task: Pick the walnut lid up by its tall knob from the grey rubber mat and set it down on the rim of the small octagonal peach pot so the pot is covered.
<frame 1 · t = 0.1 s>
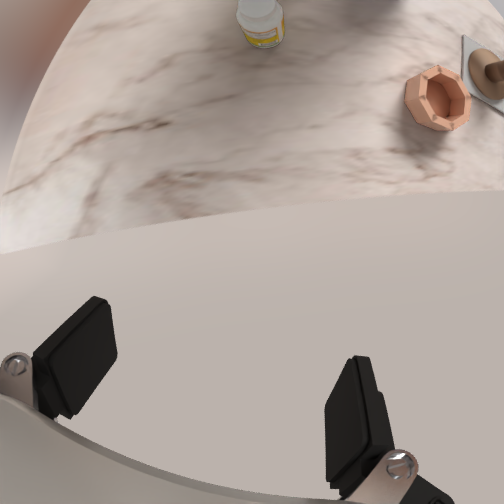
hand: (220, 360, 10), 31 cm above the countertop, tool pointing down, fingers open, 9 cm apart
supplement bottle: (265, 32, 31), on the countertop
octagonal peach pot: (430, 100, 31), on the countertop
lid: (488, 74, 26), point 1 cm above the countertop, touching mat
mat: (486, 74, 26), on the countertop
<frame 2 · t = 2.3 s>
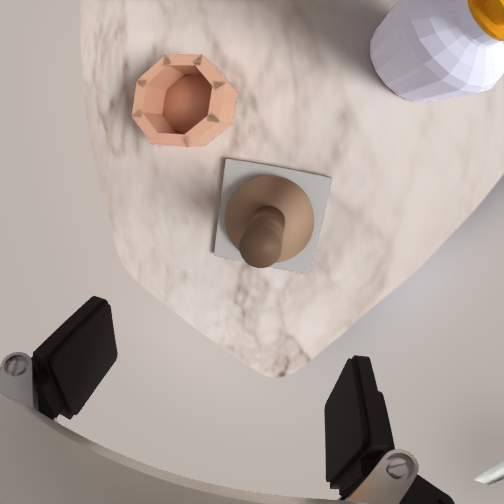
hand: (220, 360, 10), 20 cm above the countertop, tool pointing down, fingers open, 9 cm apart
octagonal peach pot: (195, 104, 25), on the countertop
lid: (269, 218, 28), point 1 cm above the countertop, touching mat
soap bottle: (410, 61, 21), on the countertop
mat: (270, 217, 29), on the countertop
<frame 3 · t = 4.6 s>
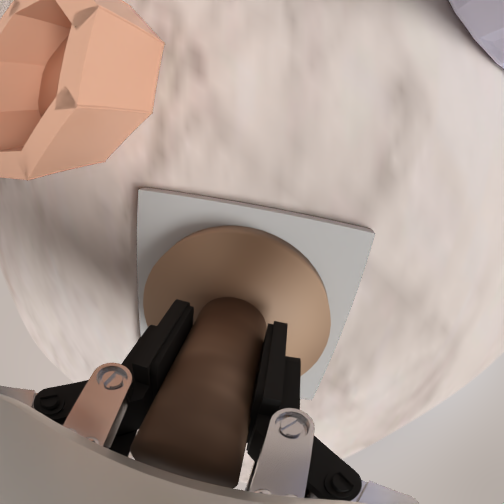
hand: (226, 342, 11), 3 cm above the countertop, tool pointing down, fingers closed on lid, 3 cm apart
octagonal peach pot: (88, 82, 11), on the countertop
lid: (236, 314, 13), point 1 cm above the countertop, touching gripper, mat
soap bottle: (501, 11, 6), on the countertop
mat: (238, 307, 14), on the countertop
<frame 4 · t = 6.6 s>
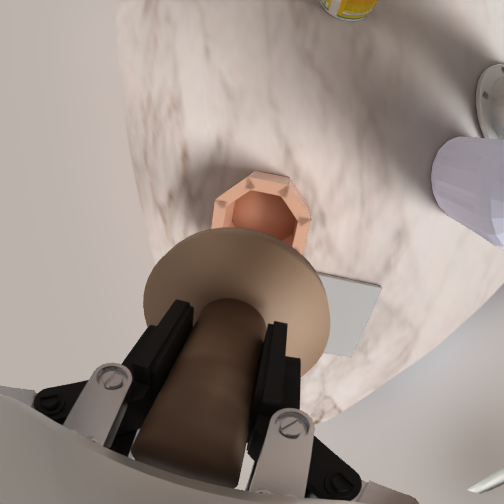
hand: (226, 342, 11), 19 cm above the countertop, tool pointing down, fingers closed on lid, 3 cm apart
supplement bottle: (345, 2, 20), on the countertop
octagonal peach pot: (264, 213, 29), on the countertop
lid: (236, 315, 13), point 17 cm above the countertop, touching gripper
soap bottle: (462, 178, 24), on the countertop
mat: (325, 315, 32), on the countertop
when the fingers open (8 cm above the countertop, at t = 8.9 s): lid drops 1 cm, resting on octagonal peach pot.
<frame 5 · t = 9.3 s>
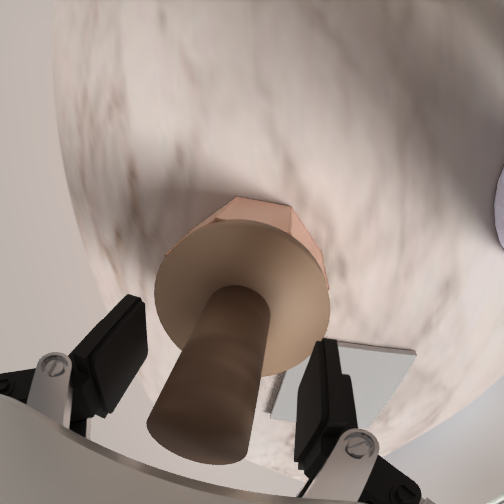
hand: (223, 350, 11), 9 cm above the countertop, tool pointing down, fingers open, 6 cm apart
octagonal peach pot: (253, 262, 19), on the countertop
lid: (241, 302, 14), point 5 cm above the countertop, touching octagonal peach pot
mat: (339, 388, 22), on the countertop
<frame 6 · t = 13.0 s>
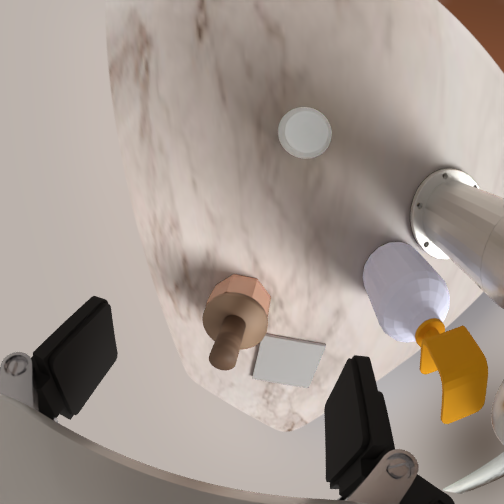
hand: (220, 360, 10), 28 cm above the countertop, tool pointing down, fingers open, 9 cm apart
supplement bottle: (302, 134, 33), on the countertop
octagonal peach pot: (241, 300, 42), on the countertop
lid: (235, 320, 38), point 5 cm above the countertop, touching octagonal peach pot
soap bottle: (391, 270, 38), on the countertop
mat: (287, 361, 45), on the countertop
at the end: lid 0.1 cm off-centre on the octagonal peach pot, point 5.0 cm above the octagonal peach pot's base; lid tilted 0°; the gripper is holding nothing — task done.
